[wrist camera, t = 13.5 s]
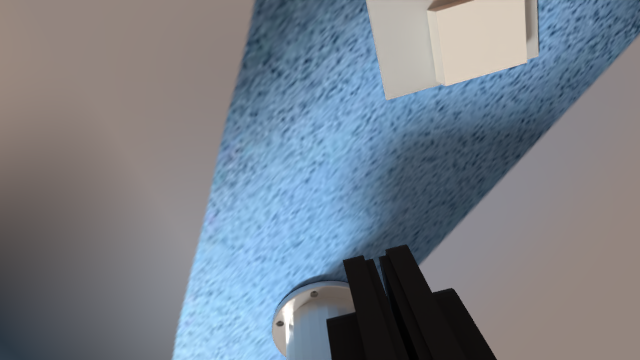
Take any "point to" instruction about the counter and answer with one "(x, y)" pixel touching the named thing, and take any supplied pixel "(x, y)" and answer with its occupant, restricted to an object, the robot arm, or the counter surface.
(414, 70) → the grey mat
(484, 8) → the cream block
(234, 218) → the counter surface
